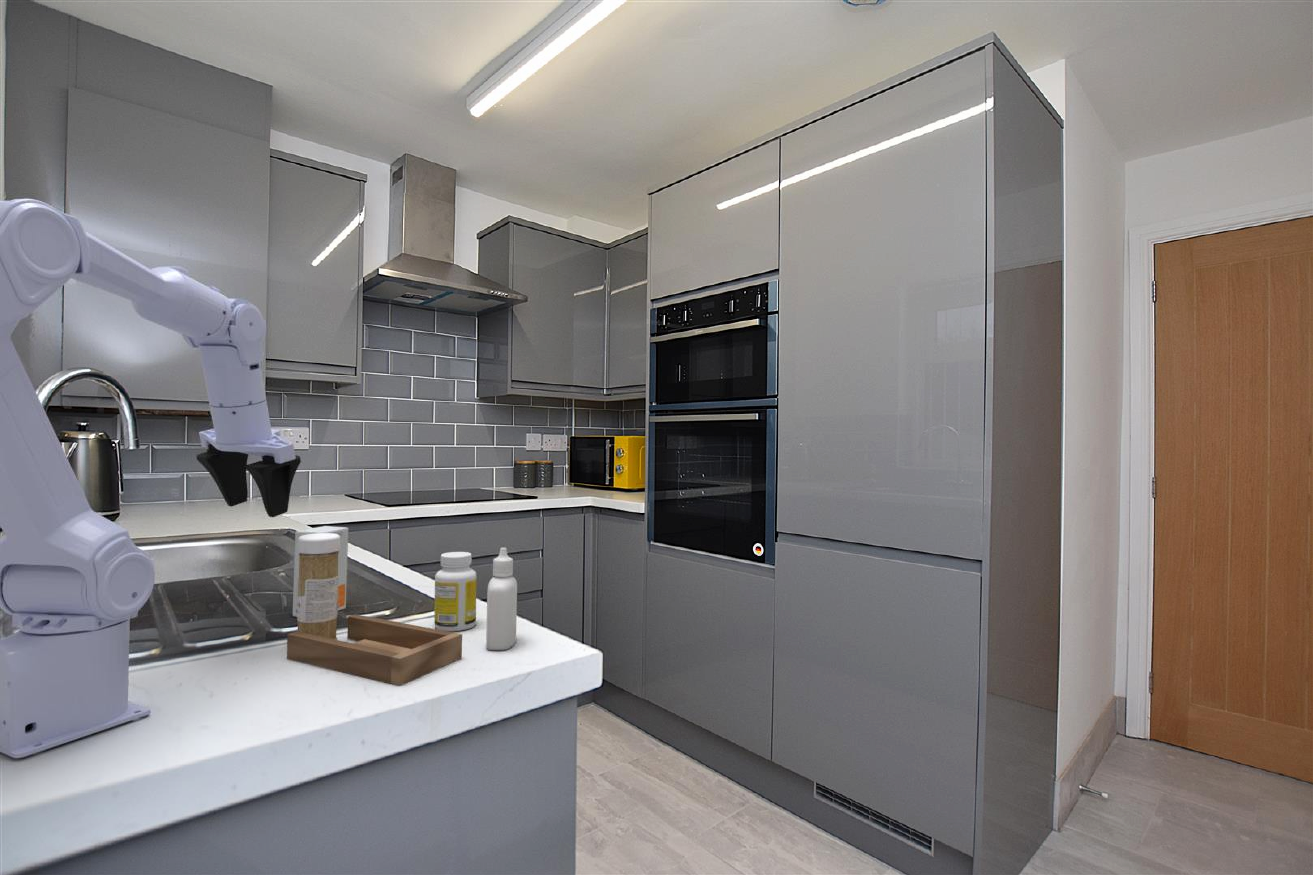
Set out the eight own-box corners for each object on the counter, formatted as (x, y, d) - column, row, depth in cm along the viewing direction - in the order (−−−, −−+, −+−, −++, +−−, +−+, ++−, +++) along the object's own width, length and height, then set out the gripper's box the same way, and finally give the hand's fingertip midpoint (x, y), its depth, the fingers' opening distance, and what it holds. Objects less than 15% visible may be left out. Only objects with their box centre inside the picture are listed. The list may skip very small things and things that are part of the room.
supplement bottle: (469, 618, 92) (471, 549, 92) (480, 629, 87) (482, 556, 87) (430, 623, 89) (431, 552, 89) (439, 634, 84) (440, 559, 84)
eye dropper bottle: (471, 647, 80) (474, 549, 80) (503, 635, 85) (505, 543, 85) (499, 653, 78) (501, 553, 78) (529, 640, 83) (531, 546, 83)
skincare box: (318, 619, 90) (320, 532, 90) (291, 617, 91) (293, 531, 91) (347, 608, 96) (349, 526, 96) (322, 606, 97) (324, 525, 97)
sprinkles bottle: (299, 641, 81) (301, 532, 80) (340, 638, 82) (342, 531, 82) (292, 653, 76) (294, 538, 76) (335, 649, 78) (337, 537, 78)
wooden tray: (399, 685, 67) (400, 658, 67) (286, 658, 74) (287, 634, 74) (461, 658, 76) (462, 634, 76) (355, 636, 83) (355, 614, 83)
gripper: (310, 401, 77) (326, 507, 81) (232, 389, 83) (250, 488, 87) (253, 414, 71) (273, 528, 75) (173, 400, 77) (195, 507, 81)
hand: (257, 508), depth 81 cm, fingers open, 7 cm apart
